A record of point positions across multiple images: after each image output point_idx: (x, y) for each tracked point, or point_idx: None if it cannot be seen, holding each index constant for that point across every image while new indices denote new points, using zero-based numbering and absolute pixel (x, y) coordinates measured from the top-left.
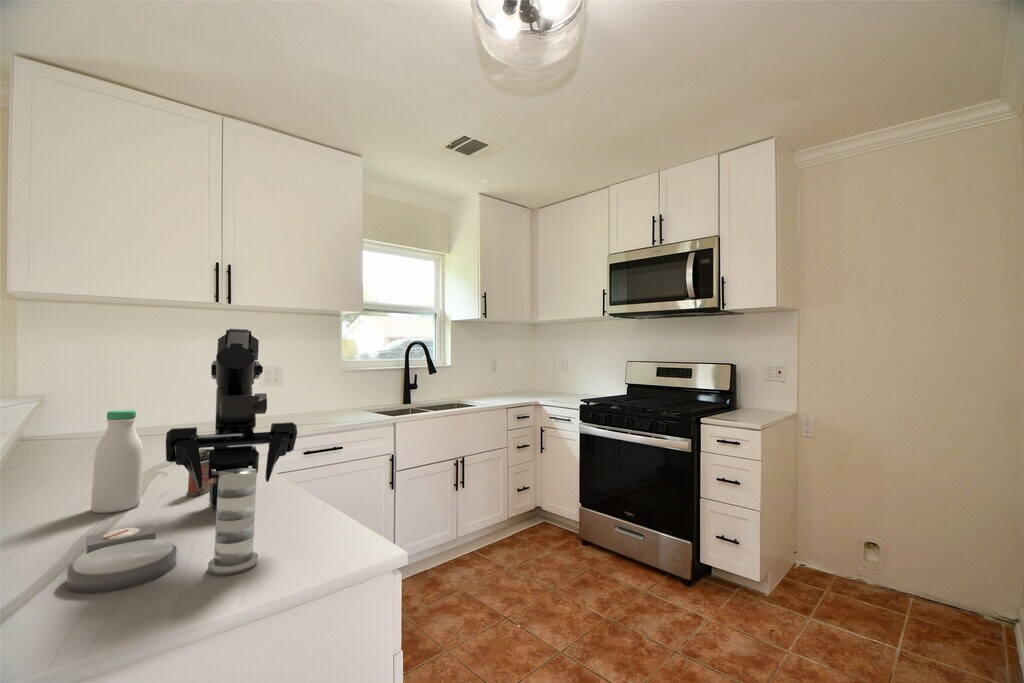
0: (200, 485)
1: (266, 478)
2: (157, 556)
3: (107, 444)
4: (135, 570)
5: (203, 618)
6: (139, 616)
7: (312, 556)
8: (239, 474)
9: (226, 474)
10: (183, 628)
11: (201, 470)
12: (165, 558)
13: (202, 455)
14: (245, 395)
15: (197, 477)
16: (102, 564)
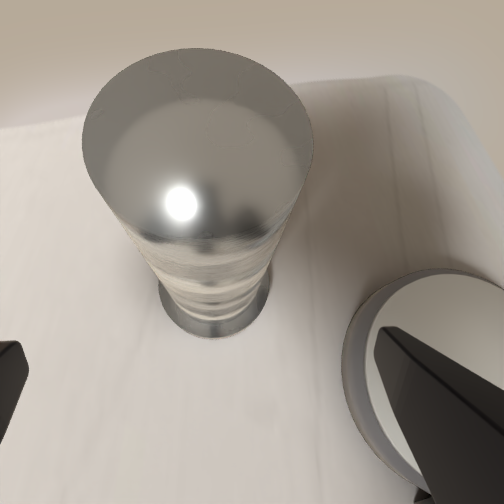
0: (387, 327)
1: (18, 353)
2: (387, 313)
3: None
4: (411, 273)
5: None
6: (351, 153)
7: (37, 252)
8: (197, 67)
9: (266, 97)
10: None
11: (447, 391)
12: (367, 320)
13: None
14: None
15: (434, 352)
16: (494, 322)
